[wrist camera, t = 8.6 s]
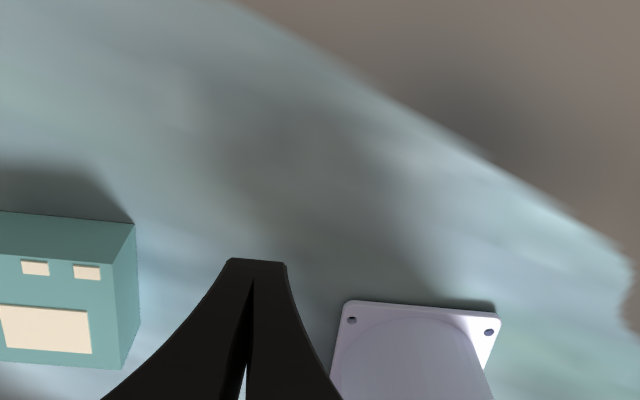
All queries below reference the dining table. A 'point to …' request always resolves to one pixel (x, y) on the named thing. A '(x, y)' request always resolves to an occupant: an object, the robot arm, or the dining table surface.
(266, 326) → the robot arm
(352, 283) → the dining table surface
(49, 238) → the teal toy building
